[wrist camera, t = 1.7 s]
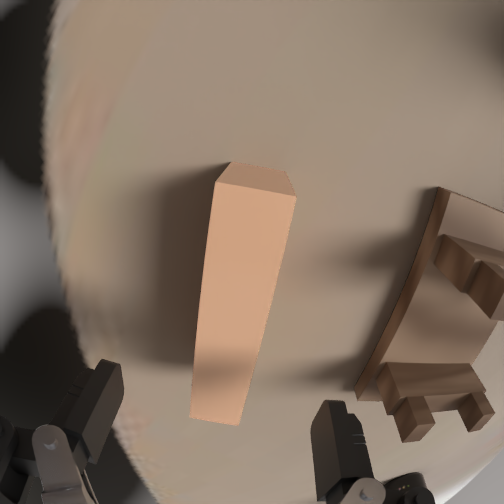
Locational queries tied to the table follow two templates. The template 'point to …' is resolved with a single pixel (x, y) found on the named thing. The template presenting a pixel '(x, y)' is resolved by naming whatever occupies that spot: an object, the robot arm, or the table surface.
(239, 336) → the peach rectangular block
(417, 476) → the supplement bottle
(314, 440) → the robot arm
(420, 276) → the rack
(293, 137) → the table surface
